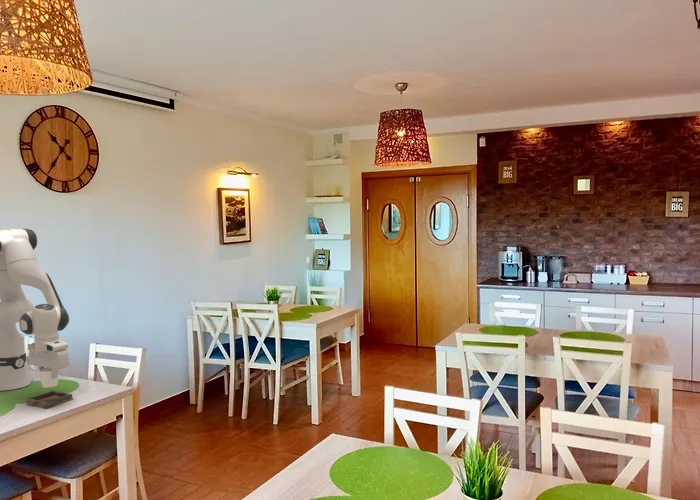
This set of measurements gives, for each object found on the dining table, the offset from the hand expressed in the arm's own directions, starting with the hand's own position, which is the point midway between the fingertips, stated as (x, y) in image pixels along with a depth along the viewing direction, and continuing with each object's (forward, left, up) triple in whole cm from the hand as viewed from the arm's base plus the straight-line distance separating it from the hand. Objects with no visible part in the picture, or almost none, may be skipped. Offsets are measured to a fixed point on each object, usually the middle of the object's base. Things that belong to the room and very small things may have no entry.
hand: (49, 377), depth 224 cm
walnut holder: (0, 0, -10) cm, 10 cm away
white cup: (0, 0, -4) cm, 4 cm away
